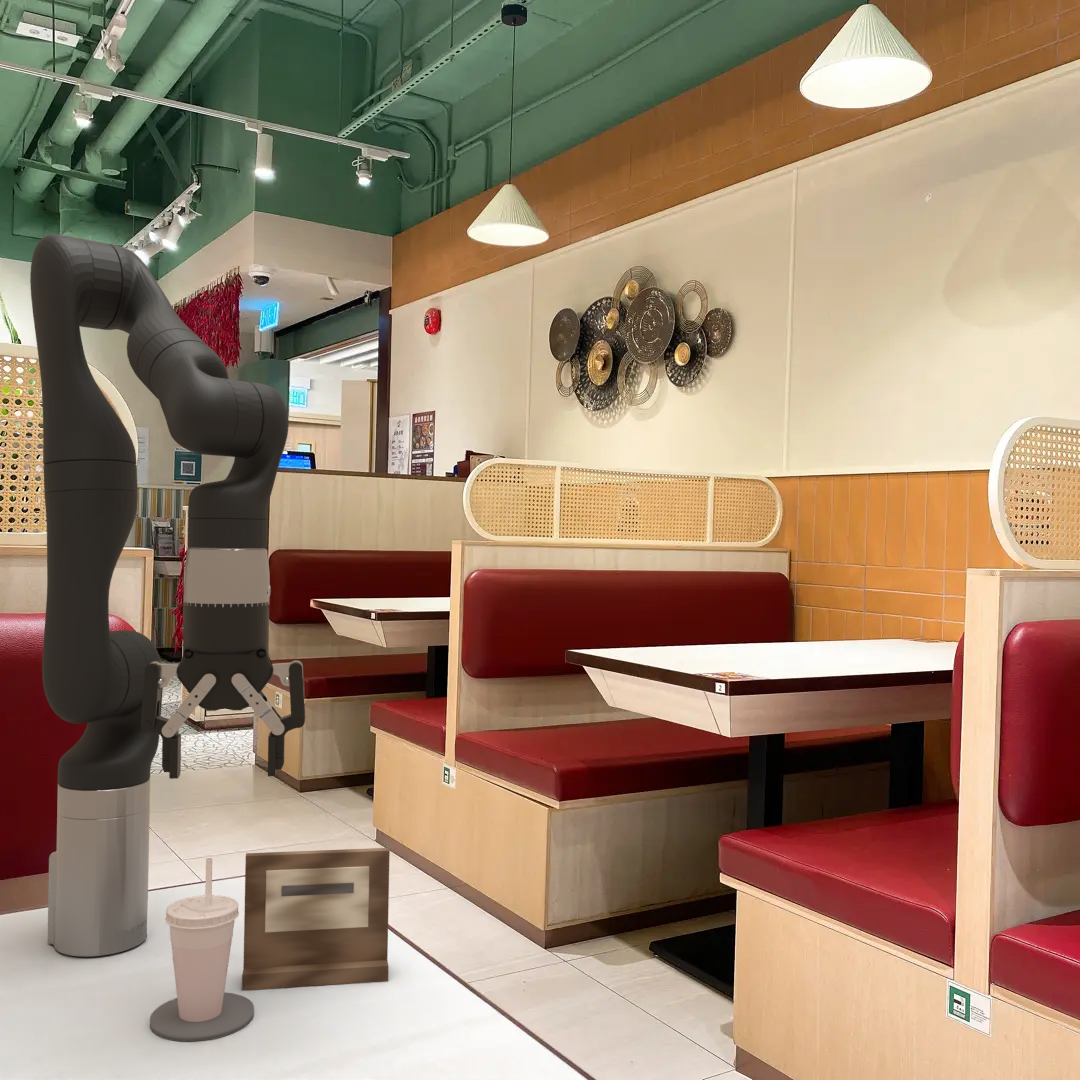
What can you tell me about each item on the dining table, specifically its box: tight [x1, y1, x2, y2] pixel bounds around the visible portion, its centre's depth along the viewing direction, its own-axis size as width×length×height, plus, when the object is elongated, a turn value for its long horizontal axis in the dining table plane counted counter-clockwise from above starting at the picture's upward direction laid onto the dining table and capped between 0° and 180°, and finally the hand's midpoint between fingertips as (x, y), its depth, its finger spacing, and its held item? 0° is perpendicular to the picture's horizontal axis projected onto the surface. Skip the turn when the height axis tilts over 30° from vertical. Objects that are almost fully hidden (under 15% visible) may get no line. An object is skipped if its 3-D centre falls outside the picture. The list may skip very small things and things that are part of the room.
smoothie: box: [164, 857, 240, 1022], centre depth 97 cm, size 6×6×14 cm
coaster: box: [149, 991, 255, 1042], centre depth 97 cm, size 9×9×1 cm
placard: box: [241, 847, 391, 991], centre depth 107 cm, size 14×4×12 cm, turn 102°
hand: (224, 775), depth 97 cm, fingers open, 8 cm apart
